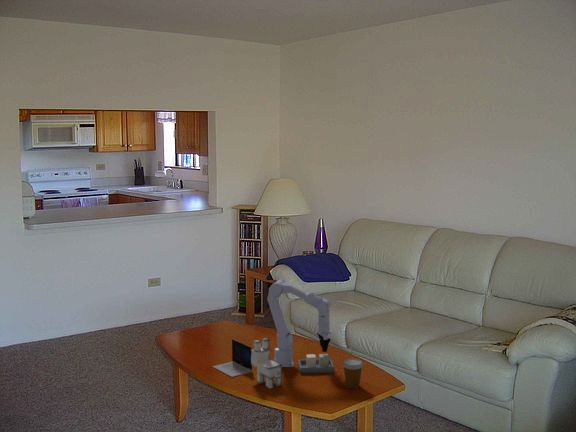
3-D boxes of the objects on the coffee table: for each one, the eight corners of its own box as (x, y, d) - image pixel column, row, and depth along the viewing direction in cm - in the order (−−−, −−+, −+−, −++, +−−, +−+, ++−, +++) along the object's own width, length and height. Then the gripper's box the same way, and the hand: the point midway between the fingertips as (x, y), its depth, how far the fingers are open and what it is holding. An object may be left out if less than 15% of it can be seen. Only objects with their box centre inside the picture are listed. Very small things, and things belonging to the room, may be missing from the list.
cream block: (307, 368, 332) (307, 357, 331) (306, 365, 336) (306, 354, 335) (315, 368, 332) (315, 357, 331) (315, 365, 336) (315, 354, 336)
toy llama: (272, 390, 307) (271, 349, 305) (251, 379, 321) (250, 339, 318) (284, 386, 312) (284, 346, 309) (263, 375, 326) (263, 336, 323)
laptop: (212, 367, 337) (211, 343, 336) (232, 362, 345) (232, 338, 343) (231, 378, 323) (231, 352, 322) (252, 372, 331) (252, 347, 329)
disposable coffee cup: (357, 391, 306) (357, 366, 304) (339, 387, 311) (339, 363, 309) (366, 384, 314) (366, 360, 312) (348, 380, 319) (348, 357, 317)
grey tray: (300, 373, 328) (300, 368, 327) (298, 365, 340) (298, 359, 339) (333, 372, 329) (334, 367, 329) (330, 364, 341) (330, 358, 340)
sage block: (319, 368, 332) (319, 357, 331) (318, 365, 337) (318, 354, 336) (328, 368, 332) (328, 357, 332) (327, 365, 337) (327, 353, 336)
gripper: (333, 327, 325) (333, 353, 326) (329, 318, 339) (329, 344, 341) (319, 327, 324) (319, 354, 326) (316, 319, 338) (316, 344, 340)
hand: (323, 349), depth 333 cm, fingers open, 7 cm apart
